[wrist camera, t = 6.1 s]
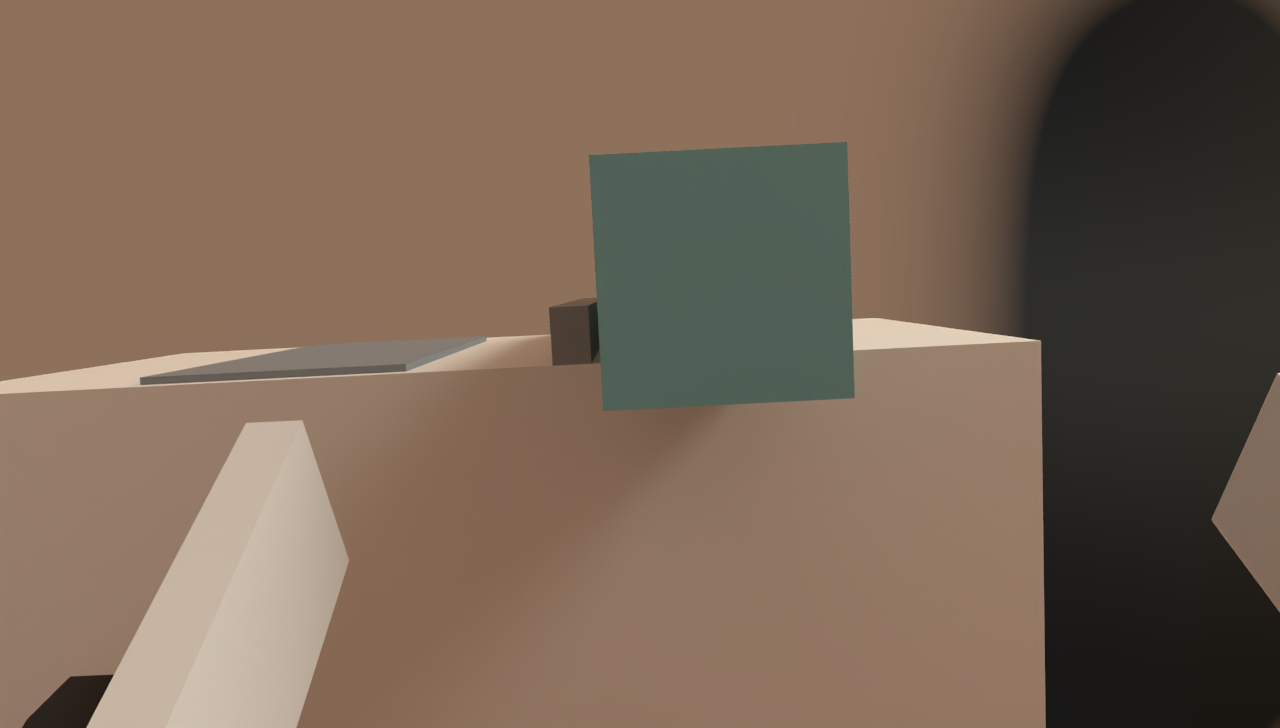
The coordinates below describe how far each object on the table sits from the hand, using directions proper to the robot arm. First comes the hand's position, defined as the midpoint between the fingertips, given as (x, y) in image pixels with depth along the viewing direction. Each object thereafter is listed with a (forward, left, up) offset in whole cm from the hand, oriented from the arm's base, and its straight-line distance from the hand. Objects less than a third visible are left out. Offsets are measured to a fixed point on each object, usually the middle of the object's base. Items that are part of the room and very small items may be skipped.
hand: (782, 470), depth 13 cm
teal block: (-3, +13, +1) cm, 14 cm away
